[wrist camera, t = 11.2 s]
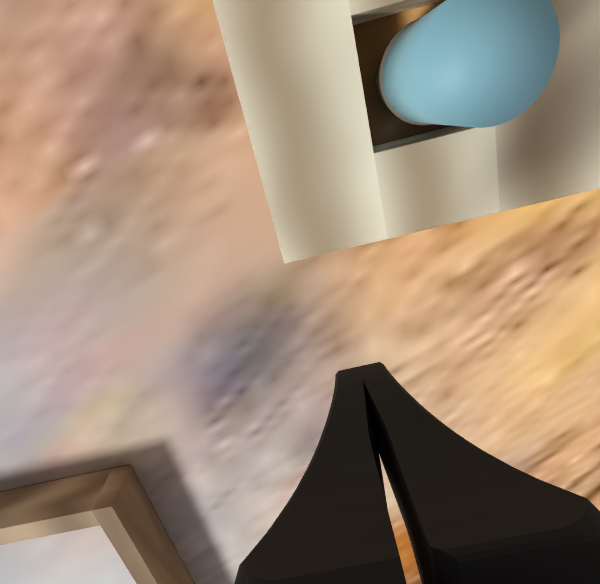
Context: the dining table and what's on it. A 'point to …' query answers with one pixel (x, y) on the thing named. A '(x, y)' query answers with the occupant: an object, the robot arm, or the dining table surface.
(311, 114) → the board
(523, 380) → the dining table surface
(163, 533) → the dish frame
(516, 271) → the dining table surface
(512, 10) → the peg
